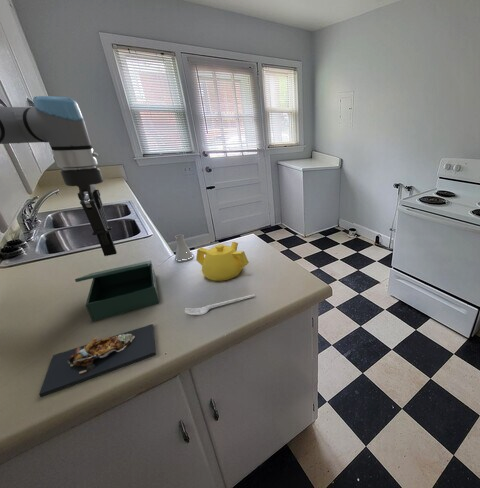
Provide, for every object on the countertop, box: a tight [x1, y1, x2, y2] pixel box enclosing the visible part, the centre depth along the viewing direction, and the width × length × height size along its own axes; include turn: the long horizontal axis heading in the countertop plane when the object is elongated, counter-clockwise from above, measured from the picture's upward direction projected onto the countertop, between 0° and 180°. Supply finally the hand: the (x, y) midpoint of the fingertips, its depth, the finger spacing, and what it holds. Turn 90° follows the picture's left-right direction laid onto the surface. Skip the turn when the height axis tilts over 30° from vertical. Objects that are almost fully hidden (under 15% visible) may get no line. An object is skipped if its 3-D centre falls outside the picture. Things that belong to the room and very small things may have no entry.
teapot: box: [195, 241, 249, 282], centre depth 99 cm, size 20×18×11 cm
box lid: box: [74, 260, 153, 283], centre depth 83 cm, size 20×16×1 cm
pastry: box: [68, 334, 135, 375], centre depth 63 cm, size 7×12×4 cm, turn 153°
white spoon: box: [183, 293, 256, 316], centre depth 81 cm, size 3×20×2 cm, turn 118°
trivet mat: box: [38, 323, 157, 397], centre depth 63 cm, size 20×12×1 cm, turn 123°
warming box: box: [85, 263, 160, 322], centre depth 85 cm, size 19×16×6 cm
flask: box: [174, 234, 195, 263], centre depth 109 cm, size 7×7×10 cm
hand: (110, 254), depth 76 cm, fingers closed
